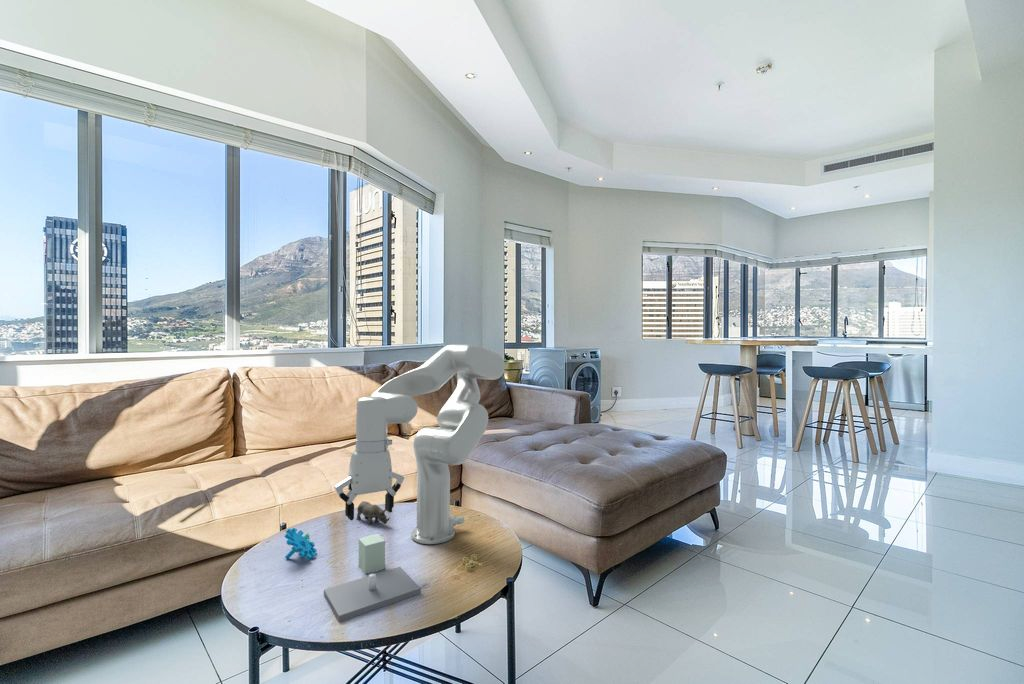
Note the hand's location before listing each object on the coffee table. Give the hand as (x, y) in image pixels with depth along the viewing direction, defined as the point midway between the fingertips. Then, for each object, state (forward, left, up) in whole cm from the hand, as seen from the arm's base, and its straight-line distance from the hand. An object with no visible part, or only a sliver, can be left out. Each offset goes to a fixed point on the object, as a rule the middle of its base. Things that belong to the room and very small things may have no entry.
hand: (369, 514), depth 116 cm
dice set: (-22, +13, -14) cm, 29 cm away
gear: (+13, -16, -14) cm, 25 cm away
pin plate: (+3, +12, -14) cm, 18 cm away
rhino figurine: (-10, -27, -14) cm, 32 cm away
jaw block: (-1, 0, -14) cm, 14 cm away
